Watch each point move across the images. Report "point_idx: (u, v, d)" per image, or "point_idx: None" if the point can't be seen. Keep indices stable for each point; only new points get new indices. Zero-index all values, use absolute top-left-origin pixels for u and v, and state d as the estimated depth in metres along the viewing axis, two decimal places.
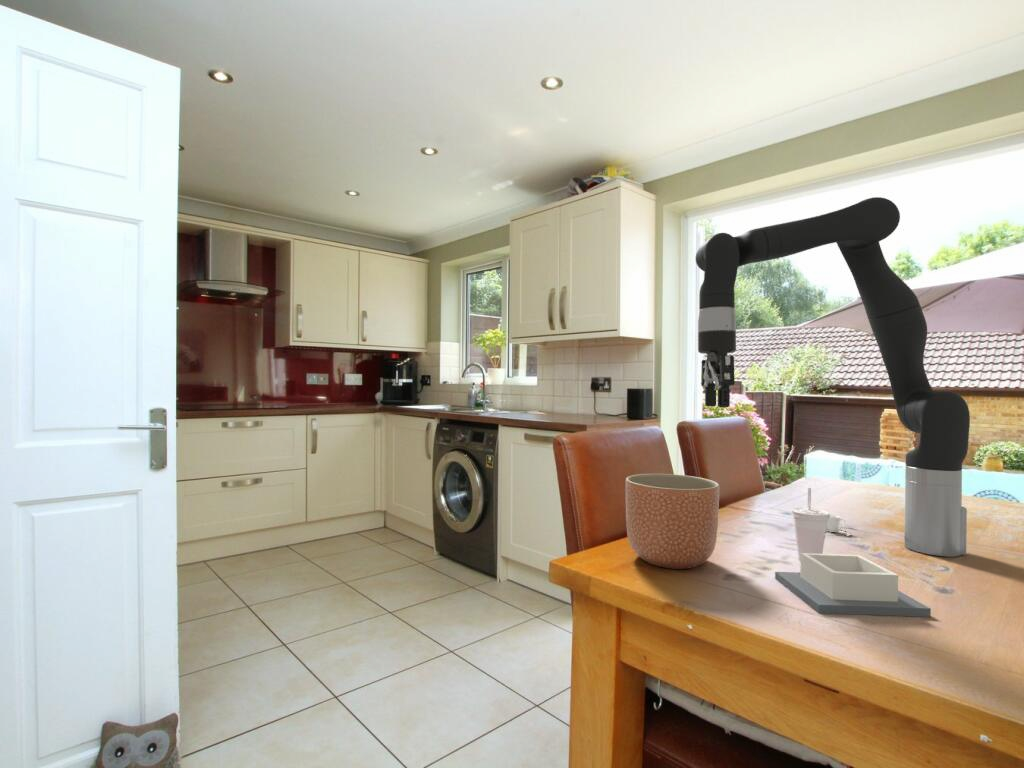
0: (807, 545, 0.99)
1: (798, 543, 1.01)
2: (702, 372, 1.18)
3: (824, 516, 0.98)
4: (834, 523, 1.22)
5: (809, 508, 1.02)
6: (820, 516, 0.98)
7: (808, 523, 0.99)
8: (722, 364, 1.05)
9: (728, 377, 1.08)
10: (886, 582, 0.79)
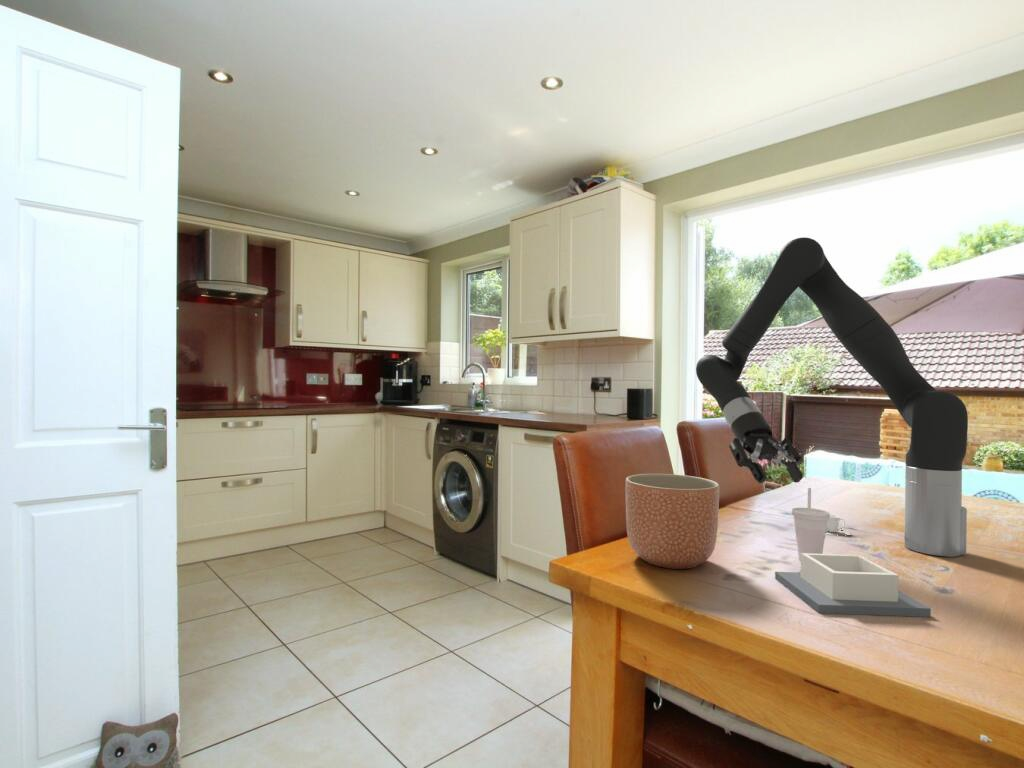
0: (807, 545, 0.99)
1: (798, 543, 1.01)
2: None
3: (824, 516, 0.98)
4: (833, 523, 1.22)
5: (809, 508, 1.02)
6: (820, 516, 0.98)
7: (808, 523, 0.99)
8: (731, 451, 1.14)
9: (752, 454, 1.12)
10: (886, 582, 0.79)
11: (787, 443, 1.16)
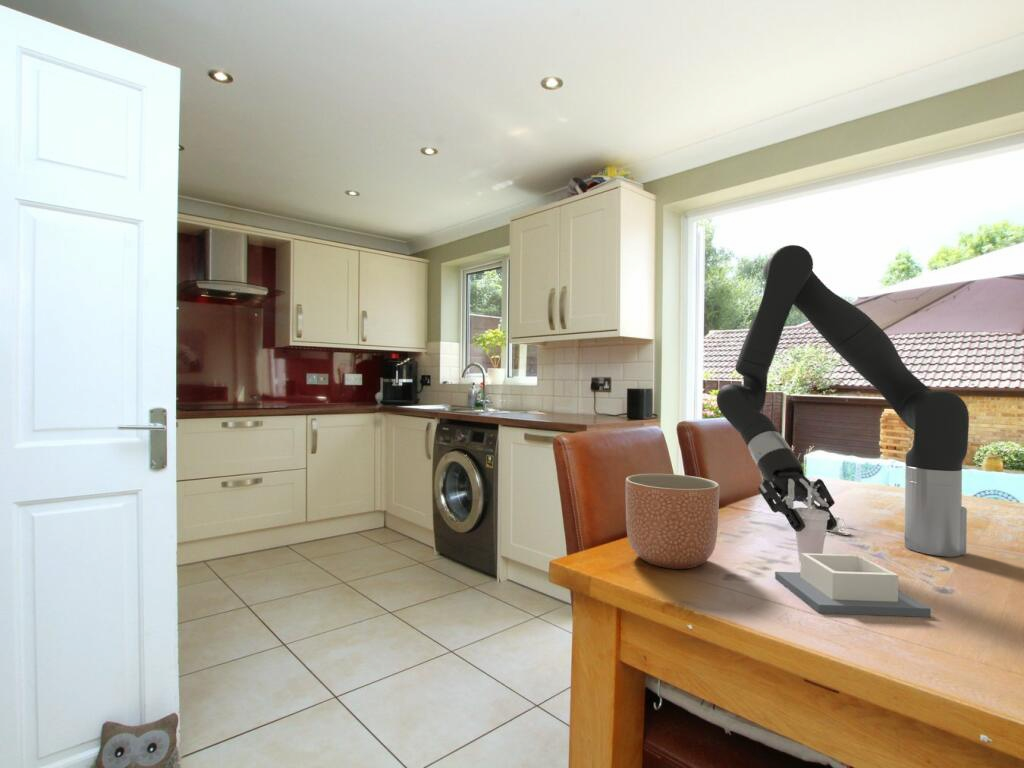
0: (807, 545, 0.99)
1: (798, 543, 1.01)
2: None
3: (824, 516, 0.98)
4: None
5: (809, 508, 1.02)
6: (820, 516, 0.98)
7: (808, 523, 0.99)
8: (762, 494, 1.05)
9: (786, 498, 1.02)
10: (886, 582, 0.79)
11: (820, 485, 1.06)
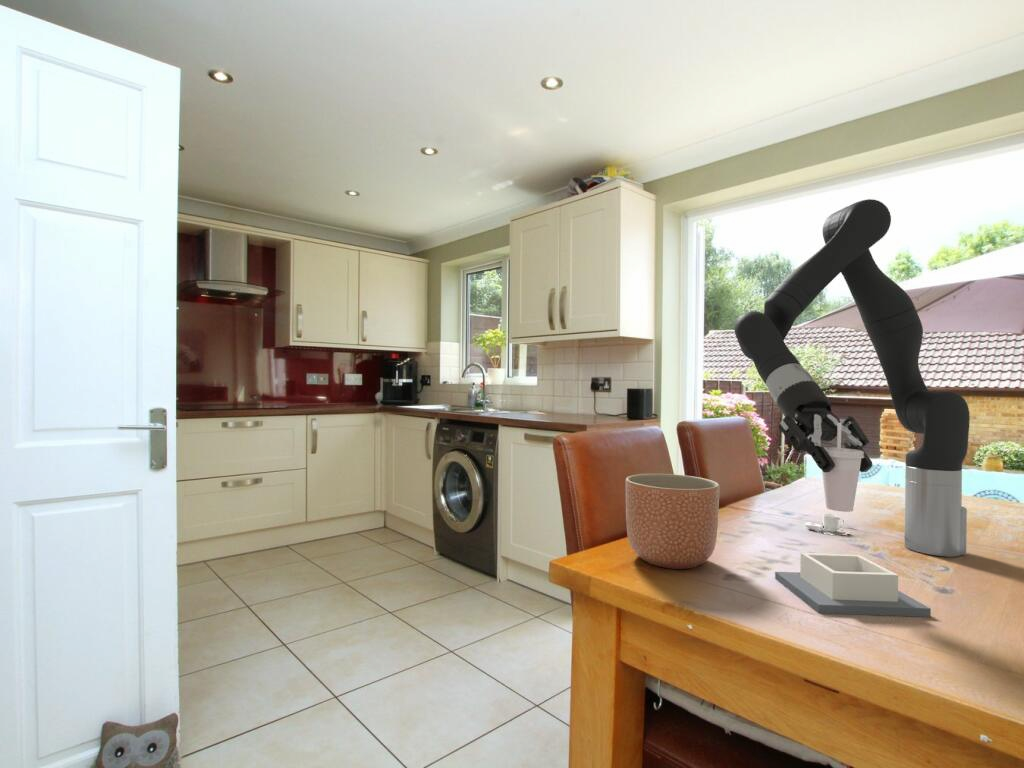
0: (837, 488, 0.84)
1: (826, 487, 0.86)
2: None
3: (857, 453, 0.83)
4: (832, 523, 1.23)
5: (839, 446, 0.86)
6: (853, 453, 0.83)
7: (838, 462, 0.84)
8: (783, 432, 0.90)
9: (812, 435, 0.87)
10: (886, 582, 0.79)
11: (851, 422, 0.91)
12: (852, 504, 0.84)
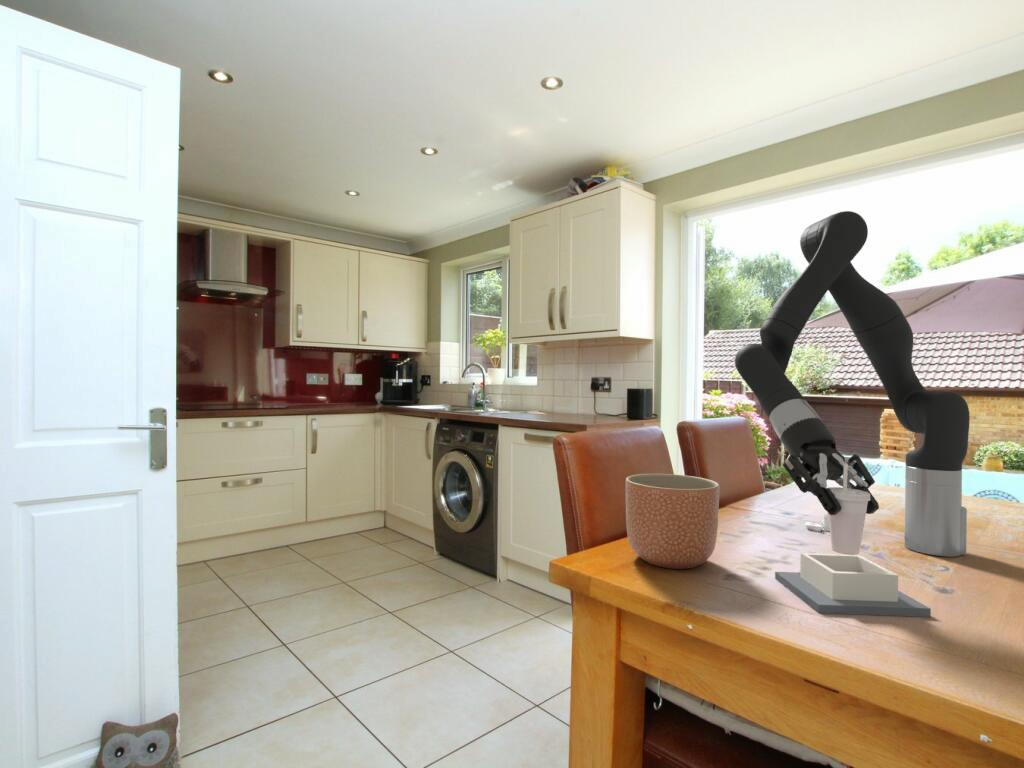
0: (844, 531, 0.83)
1: (832, 529, 0.84)
2: None
3: (864, 496, 0.82)
4: None
5: (845, 487, 0.85)
6: (860, 496, 0.81)
7: (845, 505, 0.82)
8: (788, 471, 0.88)
9: (817, 475, 0.86)
10: (886, 582, 0.79)
11: (857, 461, 0.89)
12: (858, 547, 0.83)
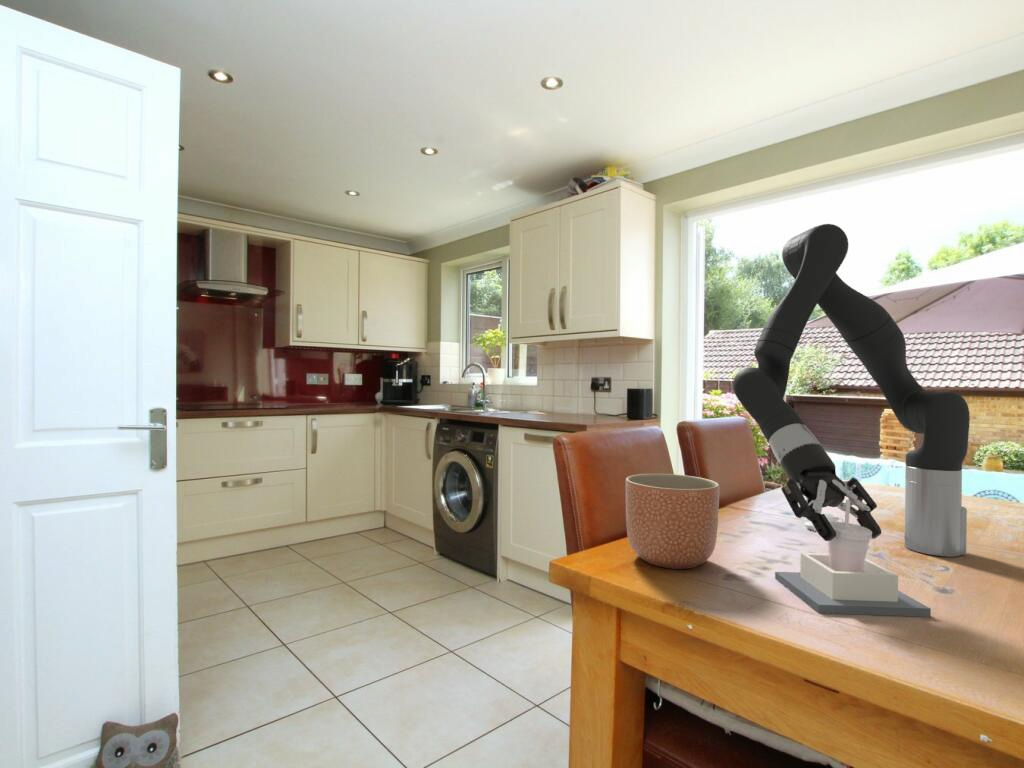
0: (844, 569, 0.83)
1: (832, 565, 0.84)
2: None
3: (866, 535, 0.81)
4: None
5: (847, 524, 0.84)
6: (861, 535, 0.81)
7: (846, 543, 0.82)
8: (785, 495, 0.88)
9: (814, 501, 0.86)
10: (886, 582, 0.79)
11: (856, 485, 0.90)
12: None
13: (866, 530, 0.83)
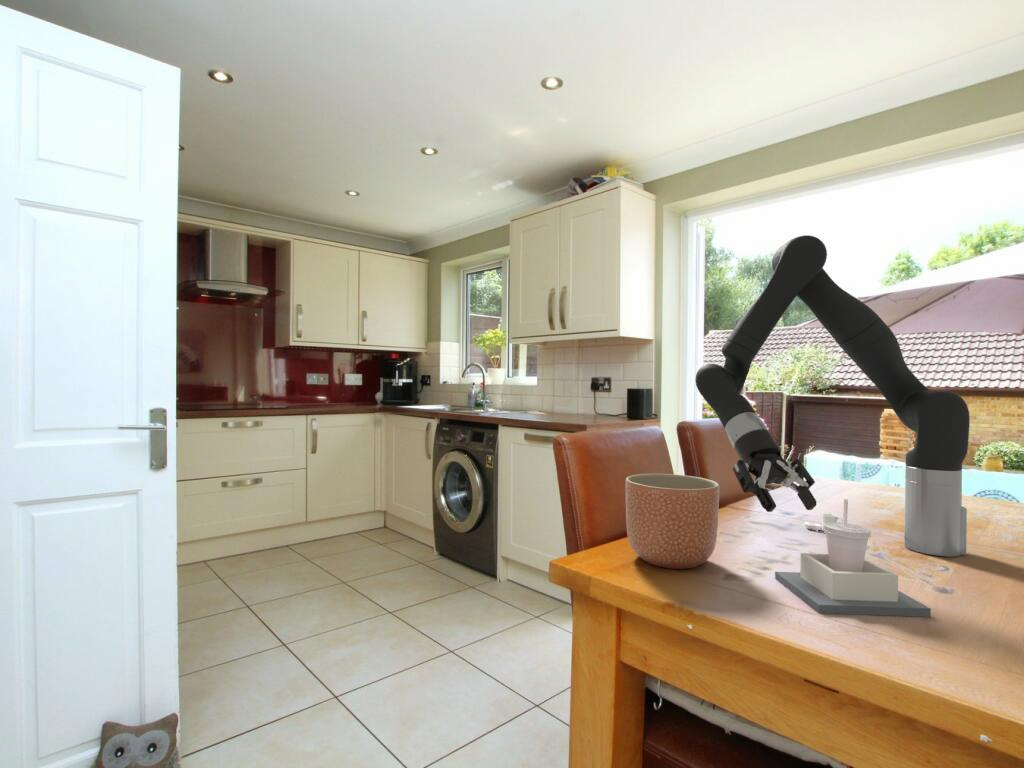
0: (843, 568, 0.83)
1: (831, 565, 0.85)
2: None
3: (865, 534, 0.82)
4: None
5: (845, 523, 0.85)
6: (860, 534, 0.82)
7: (845, 542, 0.82)
8: (735, 474, 1.02)
9: (759, 478, 0.99)
10: (886, 582, 0.79)
11: (798, 464, 1.03)
12: None
13: (864, 529, 0.84)
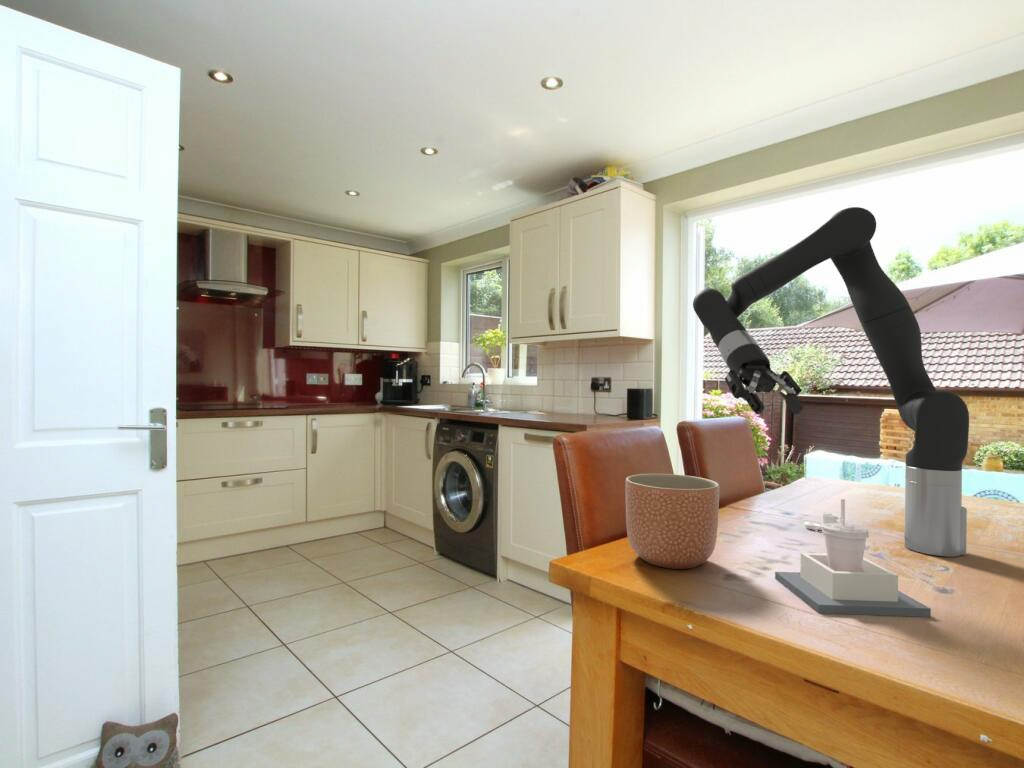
0: (843, 568, 0.83)
1: (831, 566, 0.84)
2: None
3: (863, 534, 0.82)
4: (831, 522, 1.23)
5: (843, 524, 0.85)
6: (858, 534, 0.82)
7: (844, 542, 0.82)
8: (727, 383, 1.08)
9: (749, 385, 1.05)
10: (886, 582, 0.79)
11: (786, 376, 1.09)
12: None
13: (862, 529, 0.84)
